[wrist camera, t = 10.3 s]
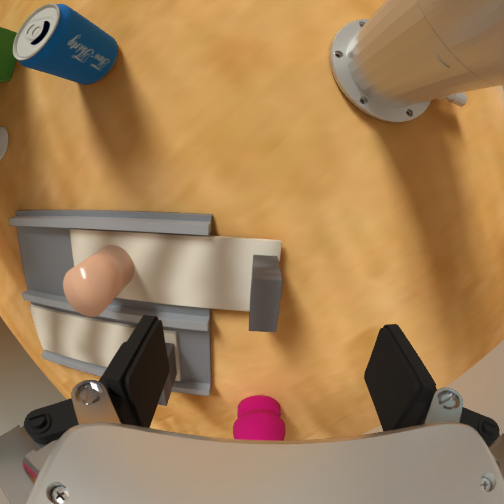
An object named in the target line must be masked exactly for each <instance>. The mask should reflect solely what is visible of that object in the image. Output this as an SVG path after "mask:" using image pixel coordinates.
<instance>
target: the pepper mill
mask: <svg viewBox="0 0 504 504" xmlns="http://www.w3.org/2000/svg"><path fill="white" fill-rule="evenodd" d="M237 416H238V419H237V420H236V421H235V423H234V425H233V435H234V439H240V440H267V441H284V437H285V424H284V422H283V420H282V419H281V418H280V416H281V413H280V405H279V403H278V402H277V401H276V400H274V399H273V398H270V397H267V396H251V397H248V398H246V399H244V400H242V401H241V402H240V404H239V405H238V414H237Z"/></svg>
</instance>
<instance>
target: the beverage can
mask: <svg viewBox="0 0 504 504" xmlns="http://www.w3.org/2000/svg"><path fill="white" fill-rule="evenodd" d="M117 54H118V45H117V42H116V41H115V39H114V38H112V37H111V36H110V35H108V34H107V33H105V32H104V31H103V30H101V29H100V28H99V27H97V26H96V25H94V24H93V23H92V22H90V21H89V20H87V19H86V18H84V17H83V16H81V15H80V14H78V13H77V12H76V11H74V10H73V9H71V8H69V7H68V6H66V5H64V4H56V5H55V4H46V5H44V6H42V7H40V8H38V9H37V10H36V11H34V12H33V13H32V14H31V15H30V16H29V17H28V18H27V19H26V20H25V22H24V23H23V24H22V26H21V27H20V29H19V31H18V33H17V35H16V37H15V40H14V44H13V55H14V57H15V58H16V59H18V60H19V62H20V63H21V65H23V66H24V67H28V68H31V69H35V70H38V71H42V72H45V73H49V74H52V75H55V76H58V77H62V78H65V79H68V80H71V81H74V82H77V83H80V84H92V83H94V82H96V81H98V80H100V79H101V78H103V77H104V76H105V75H106V74H107V73H108V72H109V71H110V69H111V68H112V66H113V65H114V63H115V61H116V58H117Z"/></svg>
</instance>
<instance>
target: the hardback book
mask: <svg viewBox="0 0 504 504" xmlns="http://www.w3.org/2000/svg"><path fill="white" fill-rule="evenodd" d="M16 35H17V33H16V32H13V31H10V30H7V29H4V28H1V27H0V83H1V82H8V81H10V79H11V76H12V73H13V70H14V67H15V64H16V61H17V59H16V58H15V57H14V55H13V44H14V40H15V37H16Z"/></svg>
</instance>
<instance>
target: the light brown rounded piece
mask: <svg viewBox="0 0 504 504" xmlns="http://www.w3.org/2000/svg"><path fill="white" fill-rule="evenodd" d="M133 275H134V265H133V261H132V259H131V257H130V256H129V254H128V253H127V252H126V251H125V250H124V249H123V248H121V247H119V246H116V245H107V246H104V247H103V248H101V249H100V250H98V251H97V252H95V253H94V254H92V255H91V256H89V257H88V258H86V259H85V260H83V261H82V262H80V263H79V264H77V265H76V266H75V267H73V268H72V269H70V270H69V271H68V272H67V273H66V275H65V277H64V280H63V289H64V293H65V296H66V298H67V300H68V302H69V303H70V305H71V306H72V307H73V308H74V309H75V310H76V311H77V312H79V313H80V314H82V315H84V316H88V317H96V316H98V315H100V314H101V313H102V312H103V311H104V310H105V309H106V308H107V306H108V305H109V304H110V303H111V302H112V301H113V300H114V299H115V298H116V296H117V295H118V294H119V293H120V292H121V291H122V290H123V289H124V288H125V287H126V286H127V284H128V283H129V282H130V281H131V280H132V278H133Z"/></svg>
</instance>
